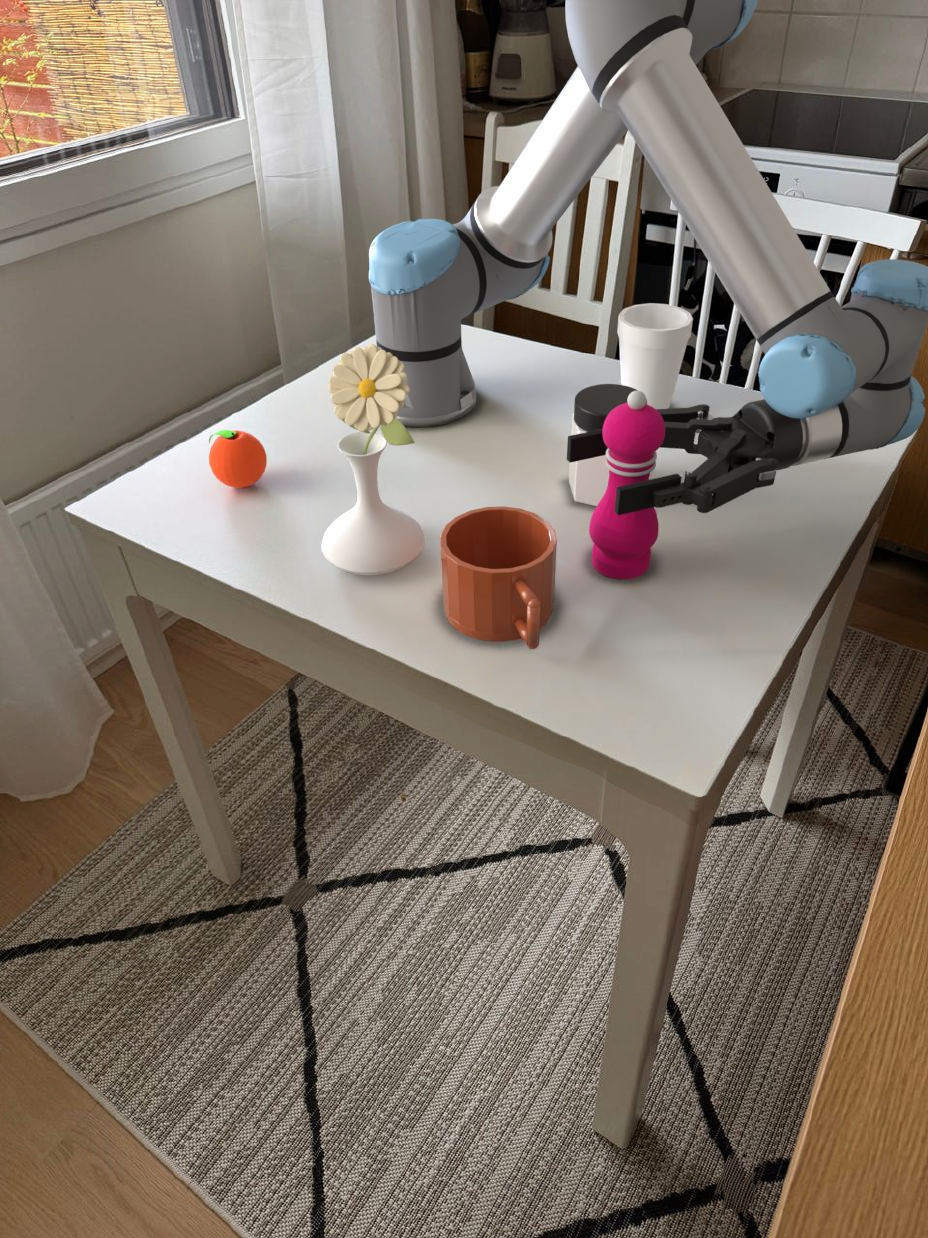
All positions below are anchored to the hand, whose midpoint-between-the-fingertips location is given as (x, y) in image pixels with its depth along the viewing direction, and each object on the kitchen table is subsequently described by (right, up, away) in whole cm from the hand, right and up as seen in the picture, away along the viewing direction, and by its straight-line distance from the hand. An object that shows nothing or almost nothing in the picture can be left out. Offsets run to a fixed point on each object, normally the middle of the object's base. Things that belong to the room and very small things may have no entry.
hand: (591, 474), depth 89 cm
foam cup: (+13, +15, +36) cm, 41 cm away
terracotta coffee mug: (-8, -14, +2) cm, 17 cm away
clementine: (-41, +3, +24) cm, 47 cm away
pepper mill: (+4, -8, +9) cm, 13 cm away
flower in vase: (-22, -8, +11) cm, 26 cm away
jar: (+4, +1, +20) cm, 21 cm away
